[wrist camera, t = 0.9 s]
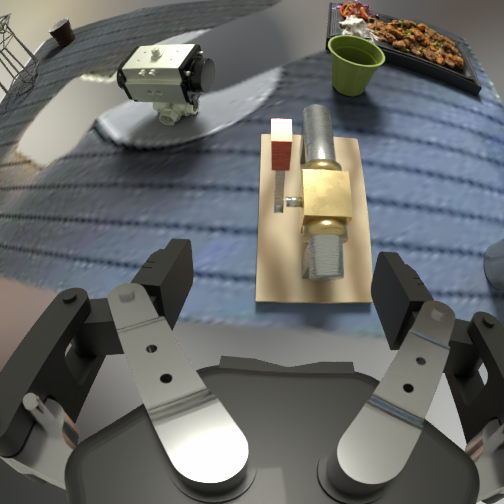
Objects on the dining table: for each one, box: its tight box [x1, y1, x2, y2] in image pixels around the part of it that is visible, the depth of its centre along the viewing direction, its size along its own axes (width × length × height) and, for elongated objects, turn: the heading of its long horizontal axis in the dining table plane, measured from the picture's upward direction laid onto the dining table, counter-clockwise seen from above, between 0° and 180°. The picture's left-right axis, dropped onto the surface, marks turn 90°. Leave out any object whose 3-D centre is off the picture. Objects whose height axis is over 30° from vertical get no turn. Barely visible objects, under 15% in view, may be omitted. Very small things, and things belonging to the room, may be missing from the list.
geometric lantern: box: [0, 14, 40, 95], centre depth 54 cm, size 16×16×35 cm
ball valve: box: [117, 45, 215, 126], centre depth 49 cm, size 18×8×18 cm, turn 74°
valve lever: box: [271, 119, 292, 213], centre depth 33 cm, size 2×3×16 cm, turn 178°
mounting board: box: [256, 134, 373, 303], centre depth 49 cm, size 18×30×2 cm, turn 178°
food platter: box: [325, 0, 481, 96], centre depth 58 cm, size 45×25×10 cm, turn 78°
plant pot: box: [328, 35, 385, 96], centre depth 52 cm, size 12×12×11 cm
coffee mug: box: [49, 18, 75, 47], centre depth 72 cm, size 12×9×10 cm
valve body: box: [286, 105, 353, 281], centre depth 42 cm, size 8×26×12 cm, turn 178°
